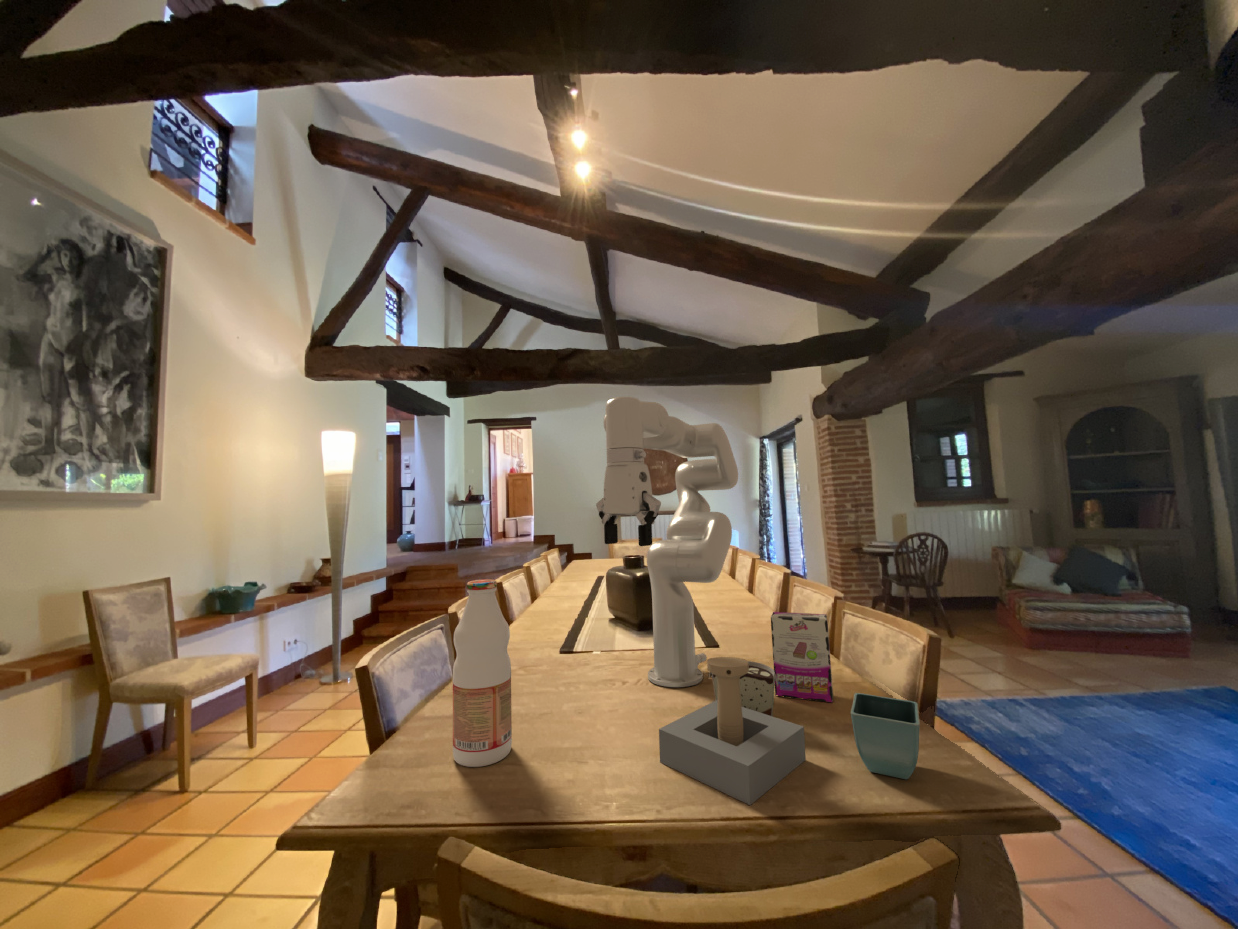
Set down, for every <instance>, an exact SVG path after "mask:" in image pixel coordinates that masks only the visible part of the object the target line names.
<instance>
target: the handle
mask: <svg viewBox="0 0 1238 929" xmlns="http://www.w3.org/2000/svg"><path fill="white" fill-rule="evenodd" d="M748 661H749V660H746V659H744V658H740V657H732V656H729V657H728V656H718V657H710V658H708V659H706V664H707V666H706V668H707V670H708V672H709V673H710V672H711V673H712V674H714V675H716V676H717V680H718V710H717V725H718V726H717V728H718V738H719V740H721V741H724V742H726V743H729V744H732V745H734V746H739V745H740V744H742V743H743V734H744V732H743V716H742V707H741V697H740V686H739V680H740V677H741V676H743V675H745V674H746V673H748V671H749V663H748Z"/></svg>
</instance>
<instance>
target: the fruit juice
mask: <svg viewBox="0 0 1238 929" xmlns="http://www.w3.org/2000/svg"><path fill="white" fill-rule="evenodd" d="M497 587H498V583H497V580H496V579H490V578H487V579H485V578H484V579H475V580H474V579H473V580H470V581H468V582H466V592H467V593H468V597H467V600H466V603H465V606H464V610H463V612H462V616H461V619H460V620H459V622H458V624H457V626H456V627H455V629H454V632H453V645H454V648H455V652H456V658H455V660H454V663H453V667H452V668H453V669H452V756H453V759H454V761H455V762H456V764H458V765H460V766H463V767H466V768H467V767H468V768H479V767H480V768H481V767H485V766H490V765H493V764H496V763H499V762H500V761H502V760H503V759H505V758H506V757H507V756H508V755H509V754H510V752H511V750H512V740H513V739H512V735H513V734H512V729H513V726H512V723H513V722H512V720H513V719H512V665H511V657H510V655H509V653H508V645H509V642H510V638H511V632H510V631H511V630H510V626H509V624H508V622H507V621H506V619H505V617H504V615H503V613H502V610H501V608H500V604H499V602H498V599H497V596H496V591H497V589H498V588H497Z"/></svg>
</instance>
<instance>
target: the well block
mask: <svg viewBox="0 0 1238 929" xmlns="http://www.w3.org/2000/svg"><path fill="white" fill-rule="evenodd" d="M717 710H718V700H716V701H715V700H714V701H712V702H710V703H708V704H705V705H704V706H702V707H700V708H698V709H696V710H693V711H691V712H690V713H687V714H686V715H683V716H682V717H680V718H678V719H676V720H674V721H672V722H670V723H668V724H666V725H664V726H662V727H660V728H659V729H658V741H659V743H658V744H659V763H660V764H663V765H665V766H667V767H669V768H671V769H673V770H675V771H678V772H679V773H682V774H683V775H686V776H688V777H690V778H692V779H695V780H696V781H699V782H701V783H702V784H704V785H706V786H709V787H711V788H713V789H716V790H717V791H719V792H721V793H724V794H725V795H728V796H730V797H732V798H733V799H736V800H738V801H739V802H743V803H745V804H746V805H749V806H751V805H752V804H753V803H755V802H756V801H758V800H759V799H760V798H761V797H762V796H763V795H765V794H766V793H767V792H768V791H770V790H771V789H772V788H773V787H774V786H776V785H777V784H778V783H779V782H780V781H782V780H784V778H786V777H787V776H788V775H789V774H790V773H792V772H793V771H794V770H795V769H797V768H798V767H799V766H800V765H801V764H803V763H805V761H806V760H807V759H806V742H805V739H806V738H805V726H803V725H800V724H796V723H794V722H790V721H788V720H785V719H782V718H778V717H775V716H773V717H772V716H769V715H766V714H763V713H760V712H757V711H754V710H751V709H748V708H744V707H742V716H743V732H744V734H743V743H742V744H740V745H739V746H734V745H732V744H729V743H726V742H724V741H721V740H719V738H718V728H717V726H718V725H717Z"/></svg>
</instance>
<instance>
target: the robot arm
mask: <svg viewBox="0 0 1238 929" xmlns="http://www.w3.org/2000/svg"><path fill="white" fill-rule="evenodd" d="M603 428H604V432H605V435H606V436H605V438H606V440H605V441H606V467H605V472H604V480H603V497H602V498H601V499H600V500H598V501H597V503H595V504H596V505H595V506H596V509H597V512H598V517H599V518H600V519H601V524H602V525H603V530H604V533H603V536H604V538H603V539H604V544H605V545H611V544H612V545H614V544H618V542H619V538H618V537H619V536H618V532H619V531H618V523H616V521H617V519H618V518H619V516H635V517H636V518H637V520H638V522H639V524H638V525H637V526H638V528H637V530H638V532H637V533H638V546H639V547H648V549H647V553H646V565H647V571H648V575H649V582H650V587H651V599H652V600H651V602H652V603H651V605H652V606H651V607H652V631H653V632H652V635H653V637H652V638H653V660H654V662H653V666H654V667H651V669H649V670H648V671H647V679H648V681H650V682H651V683H652V684H654V685H657V686H661V687H665V688H686V687H692V686H695V685H698V684H700V683H702V680H703V679H704V675H703V672H702V670H701V669H700V668H699V664H702V663H704V662H705V661H706V662H707V660H708V659H707V658H708V657H707V655H706V654H705V653H704V652H701V653H699V654H696V640H695V615H694V614H695V613H694V599H693V596H692V594H691V592H690V590H689V588H688V586H686V584H685V583H700V584H701V583H702V584H707V583H708V584H709V583H713V582H715V581H717V579H718V578H719V577H720V575H721V573H722V570H723V568H724V564H725V561H726V558H727V556H728V553H729V550H730V546H731V543H732V536H733V534H732V533H733V530H732V524H731V520H730V519H729V517H728V515H727V514H725V513H723V512H720V511H711V506H710V504H709V503H708V501H707V500H706V498H705V497H704V496H703V495H701V494H700V493H699V491H700V492H701V491H702V492H703V491H725V490H731V489H733V488H734V487H736V485H737V484H738V481H739V468H738V466H737V462H736V460H735V459H736V458H735V456H734V452H733V450H732V447H731V443H730V440H729V438H728V435H727V432H725V430H724V428H723V427H722V426H721V425H720V424H719V423H717V422H710V423H701V424H689V423H687V422H685V421H683V420H682V419H680V418H678V417H676V416H671V415H669V412H668V411H667V409H666V407H664V405H663V404H661V403H658V402H656V401H645V400H640V399H639V398H637V397H634V396H617V397H616V396H615V397H612V398H610V399H609V400H607V401H606V404H605V415H604V418H603ZM644 449H646V450H647V449H649V450H655V451H664V452H667V453H669V454H672V455H675V456H677V457H681V458H683V459H689V458H690V459H691V460H688V461H684V462H682V463H680V464H679V465H678V466H677V468H676V470H675V474H674V480H675V489H676V493H677V498H678V505H677V507H676V509H675V511H674V514H673V515H672V518H671V520H670V521H669V524H668V526H667V530H666V539H662V540H661V539H660V540H657V541H655V542H653V526H652V525H654V524H655V522H656V521H655V520H656V519H657V517H658V516H659V511H660V508H661V505H662V501H660V500H659V499H657V498H656V497H654V496H653V489H652V488H653V486H652V483H651V482H652V481H651V475H650V470H649V466H648V464H645V458H646V457H647V453H646V451H645V450H644ZM704 457H706V459H705V458H704ZM707 457H714V458H708V459H707ZM692 458H704V459H693V460H692Z"/></svg>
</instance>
